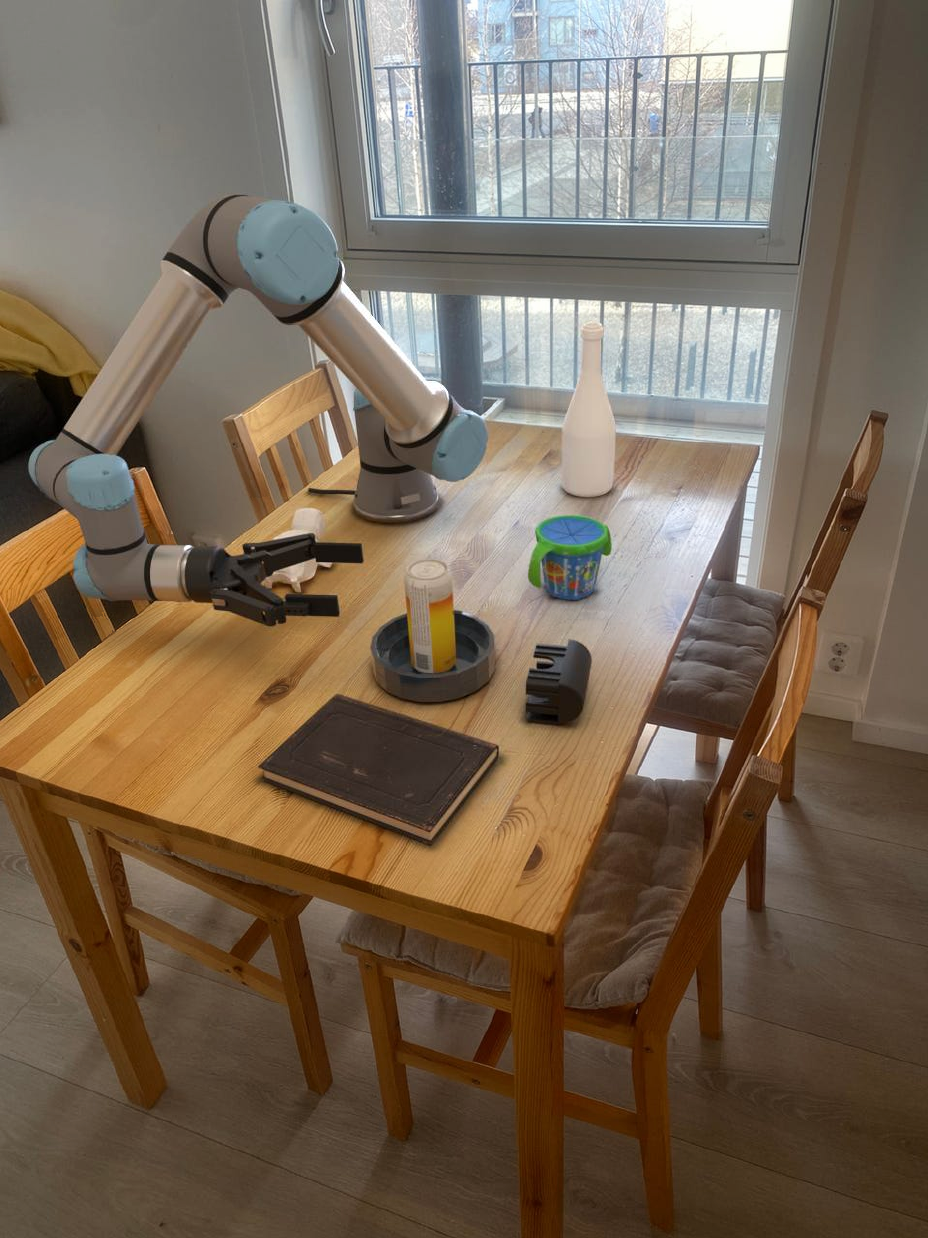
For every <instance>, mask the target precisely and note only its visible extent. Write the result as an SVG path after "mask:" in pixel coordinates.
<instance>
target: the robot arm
mask: <svg viewBox="0 0 928 1238" xmlns="http://www.w3.org/2000/svg"><path fill="white" fill-rule="evenodd" d="M337 251H339V248H338V244H337V241H336V238H335V236H334V234H333V232H332V230H331V228H330V226H329V225H328V224H327V223H326V221H325V220H324V219H323V218H322V217H320V215H318V214H317V213H316V212H314V211H312V210H311V209H309V208H306V207H305V206H303V205H300V204H298V203H296V202H292V201H288V200H281V199H269V198H263V197H256V196H250V195H246V194H243V193H242V194H241V193H232V194H224V195H222V196H219V197H216V198H214V199H212V200H211V201H209V202H207V204H205V205H204V206H203V207H202V208H200V209H199V210H198V211H197V212H196V213H195V214H194V215H193V216H192V218H191V219H190V220H189V221H188V222H187V224H186V225H185V226H184V227H183V229H182V230H181V231H180V233H179V234H178V235H177V237H176V238H175V240H174V241H173V242H172V244H171V245H170V247H169V248H168V251H167V252H166V253H165V255H164V257H163V258H162V259H161V261H160V263H159V264H160V268H161V276H160V278H159V279H158V281H157V283H156V284H155V286H154V287H153V288H152V290H151V292H150V293H149V295H148V296H147V298H146V300H145V301H144V303H143V304H142V306H141V307H140V309H139V310H138V312H137V313H136V315H135V317H134V318H133V319H132V321H131V323H130V324H129V326H128V327H127V328H126V330H125V332H124V334H123V335H122V337H121V338H120V340H119V341H118V343H117V345H116V346H115V348H114V349H113V351H112V353H110V356H109V357H108V359H107V360H106V362H105V363H104V365H103V366H102V368H101V369H100V371H99V372H98V374H97V376H96V377H95V379H94V380H93V381H92V383H91V385H90V386H89V388H88V390H87V391H86V393H85V394H84V396H83V397H82V398H81V400H80V402H79V404H78V405H77V407H76V408H75V410H74V411H73V413H72V414H71V416H70V418H69V419H68V421H67V422H66V424H65V425H64V427H63V428H62V430H61V431H60V433H58V436H57V437H56V439H52V440H48V441H45V442H43V443H41V444H40V445H38V446H37V447H36V448H34V449H33V451H32V453H30V454H31V455H30V456H29V460H28V474H29V476H30V478H31V480H32V482H33V483H34V484H35V485H36V486H37V487H38V488H39V490H40V492H42V493H43V494H44V495H45V497H47V498H48V499H50V500H52V501H53V502H55V503H56V504H58V505H59V506H60V507H62V508H63V509H64V510H65V511H66V512H67V513H69V514H70V515H71V516H72V517H74V518H75V519H77V522H78V524H79V527H80V530H81V533H82V536H83V541H84V544H83V545H81V546H80V547H79V548H78V549H77V551H76V553H75V554H74V558H73V562H72V568H73V571H74V572H73V575H72V578H73V581H74V584H75V587H76V589H77V590H78V592H80V593H81V594H82V595H83V596H85V597H87V598H89V599H99V600H108V601H110V602H119V601H154V602H176V603H190V602H192V601H193V602H194V603H196V604H197V603H198V604H212V607H213V610H214V611H219V612H220V611H221V612H229V613H231V614H233V615H237V616H240V617H241V618H245V619H247V620H250V621H252V622H255V623H258V624H261V625H263V626H266V627H269V628H271V627H275V626H276V625H284V624H286V623H287V621H288V620H287V617H321V618H322V617H324V618H325V617H327V618H339V617H340V614H341V612H340V603H339V596H338V594H314V593H313V594H312V593H311V594H310V593H309V594H308V593H286V594H285V595H284V598H283V597H281V596H279V595H278V594H277V593H275V592H273V591H272V590H271V589H270V588H267V587H266V586H265V585H264V584H262V583H263V582H264V580H265V578H266V577H269V576H272V575H273V572H275V571H277V570H281V569H284V568H287V567H290V566H293V565H296V564H299V563H302V562H305V561H308V560H311V559H316V562H326V563H332V564H363V563H364V553H363V544H362V542H331V541H330V542H328V541H327V542H326V541H323V542H322V541H318V542H316V540H315V535H314V534H313V533H308V534H302V535H297V536H292V537H287V538H281V539H276V540H273V539H271V540H267V541H261V542H245V543H242V551H243V552H242V554H237V555H231V554H229V553H228V552H227V551H226V549H225V548H224V547H223V546H219V545H195V546H193V545H192V544H188V545H187V544H186V545H185V544H184V545H182V544H174V545H173V544H151V543H148V540H147V537H146V532H145V528H144V524H143V522H142V521H143V520H142V516H141V512H140V507H139V504H138V498H137V495H136V486H135V482H134V479H133V478H132V476H131V473H130V470H129V467H128V463H127V462H126V461H125V459H123V458H122V457H121V456H119V455H118V453H120V451H121V449H122V448H123V446H124V444H125V443H126V441H127V440H128V438H129V437H130V435H131V433H132V432H133V430H134V429H135V428H136V425H138V423H139V421H140V420H141V418H142V417H143V415H144V414H145V412H146V410H147V409H148V408H149V406H150V404H151V403H152V401H153V400H154V398H155V396H156V395H157V394H158V392H159V390H160V389H161V387H162V386H163V384H164V383H165V381H166V379H167V378H168V377H169V375H170V373H171V372H172V370H174V367H175V366H176V364H177V362H178V361H179V360H180V358H181V356H182V355H183V354H184V352H185V350H186V349H187V347H188V346H189V344H190V342H191V341H192V340H193V338H194V337H195V335H196V333H197V332H198V330H199V329H200V327H201V326H202V324H203V323H204V321H205V320H206V318H207V317H208V315H209V313H210V312H211V311H212V310H214V309H215V310H216V309H220V308H222V307H223V306H224V305H225V303H226V302H227V301H228V299H229V297H230V296H231V295H232V294H233V293H234V292H235V291H236V290H238V289H241V290H245V291H248V292H249V293H251V294H252V295H253V296H254V297H256V299H257V300H258V301H259V302H260V303H261V304H262V305H263V306H264V308H266V310H268V311H269V312H270V314H272V315H273V317H275V319H276V320H278V322H280V324H282V325H286V326H295V325H296V326H298V327H299V328H300V329H301V330H302V331H303V332H304V333H305V335H306V336H308V338H309V339H310V340H311V341H312V342H313V343H314V344H315V345H316V346H317V347H318V348H319V350H321V351H322V353H323V354H324V355H325V356H326V357H327V358H328V359H329V360H330V361H331V362H332V363H333V364H334V366H336V368H337V369H338V370H339V371H340V372H341V374H343V376H345V377H346V379H348V381H350V383H351V384H352V385H353V386H354V387H355V390H353V391H354V392H353V408H352V410H353V412H354V420H355V429H356V438H357V448H358V456H359V463H360V464H359V466H360V467H359V468H360V469H359V474H358V479H357V483H356V489H321V488H320V489H319V488H313V487H308V488H307V492H308V493H313V494H318V495H346V496H347V495H348V496H354V497H353V507H354V511H355V514H357V516H359V517H360V518H362V519H364V520H366V521H369V522H373V523H377V524H378V523H380V524H403V523H410V522H413V521H417V520H421V519H424V518H425V517H427V516H429V515H431V514H432V513H434V512H435V511H436V510H437V508H438V506H439V493H438V489H437V486H436V485H435V484H434V483H433V478H432V476H433V477H435V479H437V480H440V481H442V480H443V481H446V482H450V483H457V482H459V481H463V480H466V479H467V478H469V476H471V475H472V474H473V473H474V472H475V471H476V470H477V468H478V467H479V466H480V465H481V463H482V461H483V459H484V457H485V455H486V451H487V449H488V446H487V444H488V442H489V431H488V430H489V429H488V427H487V426H488V425H487V423H486V421H485V420H484V418H483V417H482V416H481V415H479V414H477V412H475V411H473V410H471V409H465V408H463V407H462V406H461V405H460V404H459V403H458V402H457V400H455V398H454V397H453V396H452V394H451V393H450V392H449V391H448V390H447V389H446V387H445V386H444V385H443V384H441V383H439V382H438V381H430V380H429V381H427V380H426V379H425V378H424V376H423V375H422V374H421V373H420V371H419V370H418V369H417V368H416V367H415V365H413V363H412V361H410V360H409V358H408V357H407V356H406V355H405V354H404V352H403V351H402V350H401V349H400V348H399V346H398V345H397V344H396V343H395V342H394V340H393V339H392V338H391V337H390V336H389V335H388V333H387V332H386V331H385V330H384V329H383V327H382V326H381V325H380V324H379V323H378V321H377V320H376V319H375V318H374V317H373V316H372V314H371V313H370V312H369V310H368V309H367V308H366V307H365V306H364V304H362V302H361V301H360V300H359V299H358V297H357V296H356V295H355V294H354V293H353V291H352V290H351V289H350V288H349V287H348V286H347V284H346V283H345V282H344V279H345V265H344V263H343V261H341V259H340V258H339V257H338V255H337ZM262 562H263V563H262Z"/></svg>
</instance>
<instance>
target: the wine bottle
mask: <svg viewBox="0 0 928 1238" xmlns="http://www.w3.org/2000/svg"><path fill="white" fill-rule="evenodd" d="M580 332H581V333H580V337H581V339H582V341H581V342H582V345H581V359H580V360H581V363H580V372H579V377H578V379H577V383H576V386H575V390H574V392H573V394H572V398H571V400H570V403H569V405H568V409H567V411H566V413H565V416H564V420H563V422H562V427H561V477H560V478H561V481H560V483H561V486H562V488H563V490H564V491H565V492H566V493H568V494H569V495H572V496H575V497H578V498H579V497H580V498H595V497H600V496H603V495H605V494H608V493H609V492H610V491H611V490H612V488H613V485H614V480H615V479H614V478H615V477H614V476H615V461H616V460H615V459H616V457H615V455H616V436H617V425H616V423H615V417H614V413H613V410H612V407H611V404H610V400H609V397H608V393H607V390H606V387H605V383H604V380H603V376H602V339H603V338H604V327H603V324H602V323H601V322H598V321H587V322H584V323H583V324H582V327H581V331H580Z"/></svg>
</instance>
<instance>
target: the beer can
mask: <svg viewBox="0 0 928 1238" xmlns="http://www.w3.org/2000/svg"><path fill="white" fill-rule="evenodd" d="M403 583H404V594H405V604H406V605H405V606H406V613H407V619H408V631H409V642H410V654H411V664H412V666H413V667H414V668H415V669H416V670H417V671H418V672H419V673H421V674H441V673H446V672H448V671H449V670H450V669H451V668H452V667H453V666H454V664H455V663H456V644H455V626H454V610H455V609H454V591H453V589H454V588H453V574H452V571H451V570H450V568H449V565H448V563H447V562H446V561H444V560H441V559H438V558H432V557H429V558H419V559H417V560H413V561H411V562H410V563H409V564H408V565H407V567H406V570H405V573H404V575H403Z"/></svg>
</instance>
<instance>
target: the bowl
mask: <svg viewBox="0 0 928 1238" xmlns="http://www.w3.org/2000/svg"><path fill="white" fill-rule="evenodd" d="M454 626H455V644H456V663H455V664H454V666H453V667H452V668H451V669H450V670H449V671H448V672H446V673H441V674H421V673H419V672H418V671H417V670H416V669H415V668H414V667H413V666H412V664H411V654H410V642H409V631H408V619H407V612H405V613H403V614H401V615H398V616H396V617H393V618H391V619H390V620H388V621H387V622H385V623H384V624H383V625H381V626H380V627H379V628H378V630H377V631H376V632H375V633H374V634H373V636H371V641H370V657H371V666H372V673H373V675H374V678H375V681H376V683H377V684H378V685H379V686H380V687H381V688H382V689H383V690H385V691H386V692H387V693H389V694H391V695H393V696H396V697H398V698H400V699H403V700H408V701H414V702H418V703H419V702H420V703H438V702H439V703H440V702H446V701H451V700H455V699H460V698H462V697H465V696H468V695H469V694H472V693H475V692H476V691H478V690H479V689H481V688H482V687H483V686H485V684H487V683H488V682H489V681H490V679H491V677H492V676H493V673H494V672H495V670H496V642H495V640H496V639H495V633H494V632H493V630H492V628H491V627H490V625H489V624H488V623H486V622H485V621H484V620H483V619H481V618H480V617H478V616H476V615H474V614H471V613H468V612H467V611H466V612H465V611H462V610H458V609H454Z"/></svg>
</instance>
